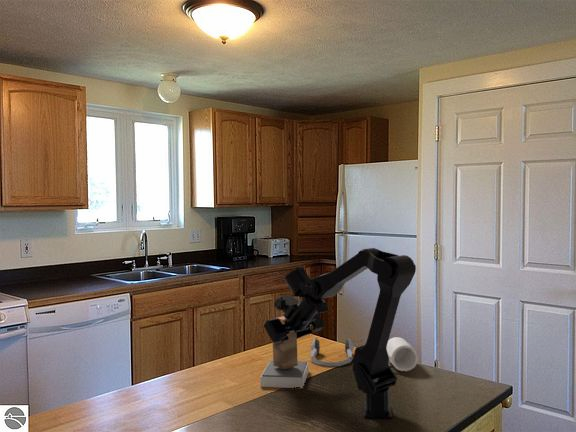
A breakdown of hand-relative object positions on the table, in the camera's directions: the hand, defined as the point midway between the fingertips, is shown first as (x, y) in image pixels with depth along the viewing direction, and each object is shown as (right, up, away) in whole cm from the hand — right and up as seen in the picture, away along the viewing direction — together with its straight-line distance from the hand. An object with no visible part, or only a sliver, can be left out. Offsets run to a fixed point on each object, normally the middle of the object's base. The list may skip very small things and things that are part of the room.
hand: (281, 342), depth 148 cm
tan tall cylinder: (+1, -7, -1) cm, 7 cm away
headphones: (+18, -10, +19) cm, 28 cm away
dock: (+1, -11, -1) cm, 11 cm away
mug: (+35, -10, +8) cm, 37 cm away
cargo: (+1, +6, -1) cm, 6 cm away
